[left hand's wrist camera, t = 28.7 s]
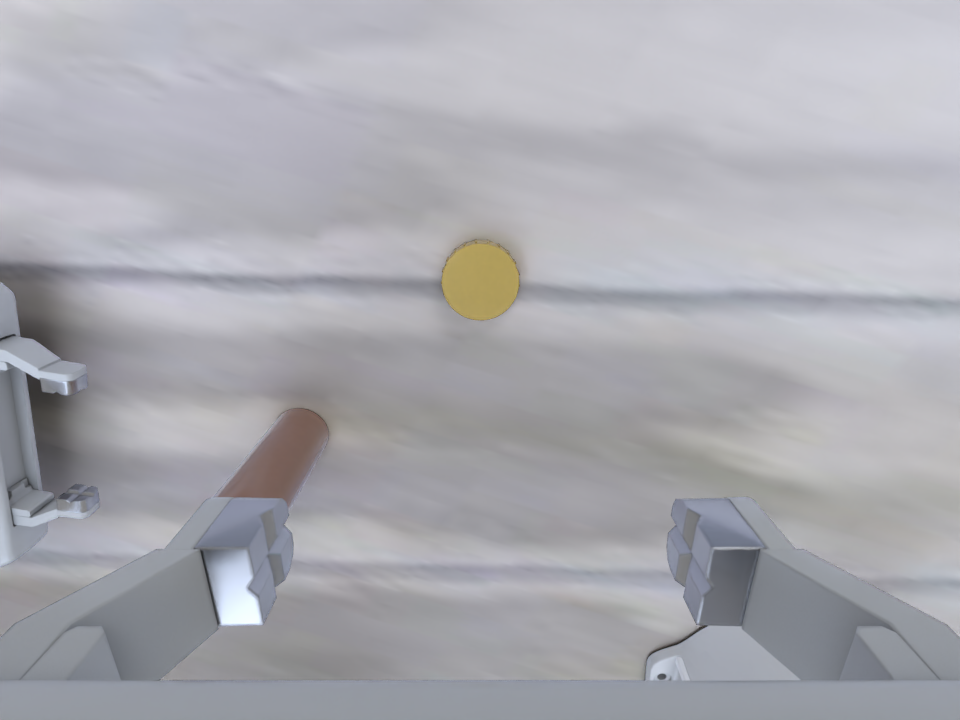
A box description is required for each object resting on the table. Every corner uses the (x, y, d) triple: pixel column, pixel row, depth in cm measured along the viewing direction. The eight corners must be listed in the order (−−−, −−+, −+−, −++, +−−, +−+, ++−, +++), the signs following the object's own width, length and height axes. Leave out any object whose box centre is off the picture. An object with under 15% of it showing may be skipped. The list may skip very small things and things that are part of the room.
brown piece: (287, 461, 41) (184, 617, 27) (265, 416, 39) (143, 555, 25) (337, 448, 40) (259, 599, 26) (316, 401, 39) (222, 535, 25)
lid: (497, 224, 34) (498, 227, 33) (531, 293, 36) (533, 299, 34) (428, 261, 35) (426, 266, 34) (465, 326, 37) (464, 334, 35)
